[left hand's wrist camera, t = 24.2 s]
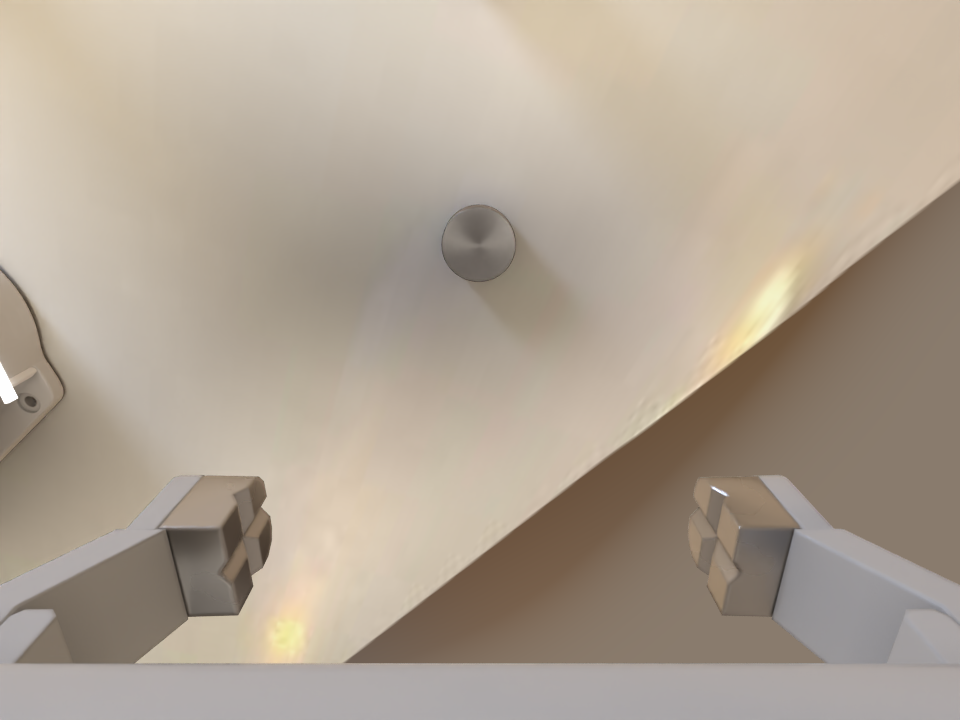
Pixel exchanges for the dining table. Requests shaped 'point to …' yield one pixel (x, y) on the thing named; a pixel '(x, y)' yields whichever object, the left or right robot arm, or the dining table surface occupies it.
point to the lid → (478, 243)
